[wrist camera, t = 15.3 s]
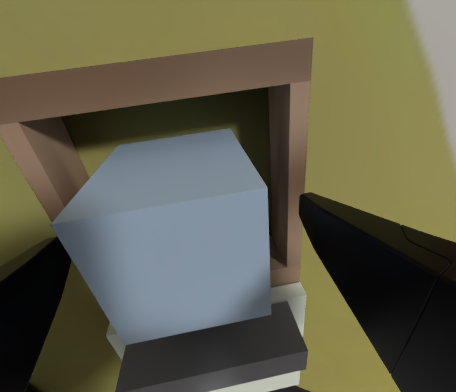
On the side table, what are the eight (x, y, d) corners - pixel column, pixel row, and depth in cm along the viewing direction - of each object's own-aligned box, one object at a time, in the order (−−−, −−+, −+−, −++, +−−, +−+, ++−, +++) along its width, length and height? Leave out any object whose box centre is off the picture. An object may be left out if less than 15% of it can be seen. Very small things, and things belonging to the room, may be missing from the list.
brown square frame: (282, 315, 18) (295, 349, 16) (154, 343, 18) (149, 381, 16) (284, 43, 9) (313, 37, 7) (22, 77, 9) (-33, 82, 7)
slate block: (229, 127, 11) (267, 187, 6) (239, 216, 13) (271, 314, 8) (118, 144, 10) (49, 224, 5) (149, 232, 13) (124, 345, 8)
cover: (294, 371, 18) (314, 428, 15) (160, 402, 17) (155, 468, 14) (299, 281, 13) (331, 343, 10) (110, 320, 12) (87, 397, 9)
